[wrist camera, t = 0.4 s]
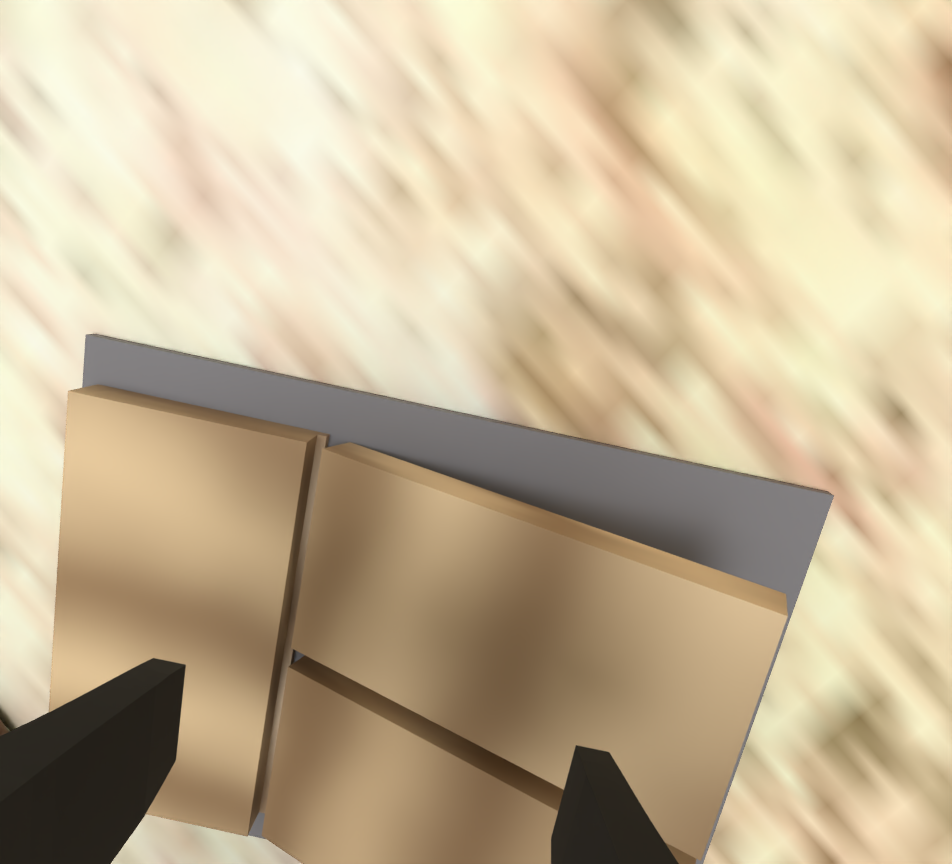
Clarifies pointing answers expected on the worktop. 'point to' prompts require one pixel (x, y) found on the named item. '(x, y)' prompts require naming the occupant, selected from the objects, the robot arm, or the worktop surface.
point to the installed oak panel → (186, 579)
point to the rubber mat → (514, 468)
